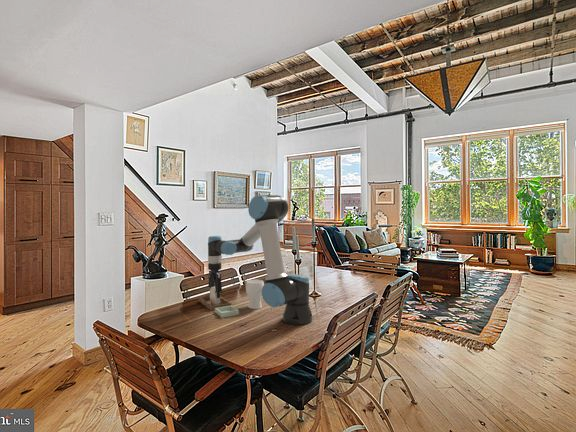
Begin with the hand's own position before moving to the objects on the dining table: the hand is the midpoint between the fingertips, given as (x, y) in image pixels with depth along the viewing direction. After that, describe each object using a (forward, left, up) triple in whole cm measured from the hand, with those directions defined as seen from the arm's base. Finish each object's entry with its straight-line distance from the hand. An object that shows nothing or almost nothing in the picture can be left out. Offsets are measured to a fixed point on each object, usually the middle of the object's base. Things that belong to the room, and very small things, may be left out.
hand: (214, 301), depth 197 cm
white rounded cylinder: (0, 0, -2) cm, 2 cm away
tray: (0, 0, -2) cm, 2 cm away
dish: (-18, 0, -2) cm, 18 cm away
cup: (-16, -18, -3) cm, 24 cm away
